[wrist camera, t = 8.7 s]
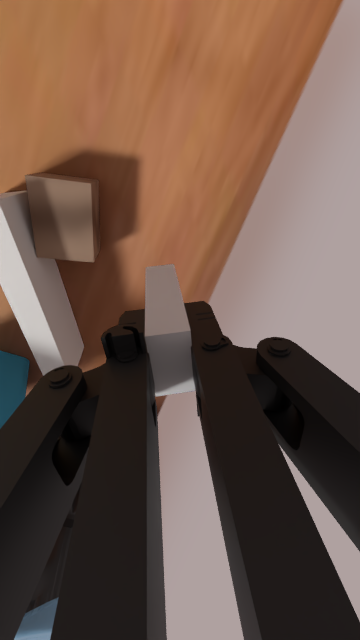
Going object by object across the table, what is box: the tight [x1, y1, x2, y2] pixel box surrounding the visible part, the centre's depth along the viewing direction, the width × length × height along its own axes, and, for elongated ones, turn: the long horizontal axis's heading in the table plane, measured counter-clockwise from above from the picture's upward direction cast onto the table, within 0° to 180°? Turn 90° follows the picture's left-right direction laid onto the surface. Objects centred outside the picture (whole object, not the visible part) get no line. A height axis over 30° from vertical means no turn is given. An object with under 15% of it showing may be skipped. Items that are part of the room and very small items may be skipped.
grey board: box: [0, 191, 84, 376], centre depth 33 cm, size 22×3×8 cm, turn 5°
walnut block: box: [25, 173, 100, 262], centre depth 30 cm, size 8×6×5 cm
